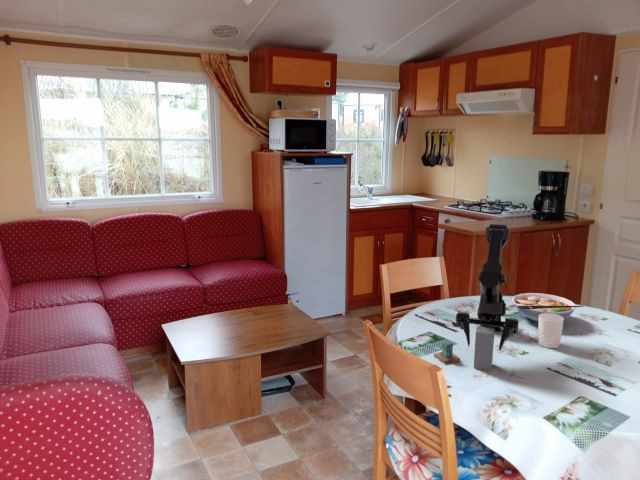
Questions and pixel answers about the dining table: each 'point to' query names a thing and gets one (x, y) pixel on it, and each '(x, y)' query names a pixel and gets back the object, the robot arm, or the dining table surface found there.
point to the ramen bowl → (543, 305)
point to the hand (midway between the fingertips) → (484, 347)
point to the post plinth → (446, 360)
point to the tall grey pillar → (484, 348)
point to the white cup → (550, 330)
